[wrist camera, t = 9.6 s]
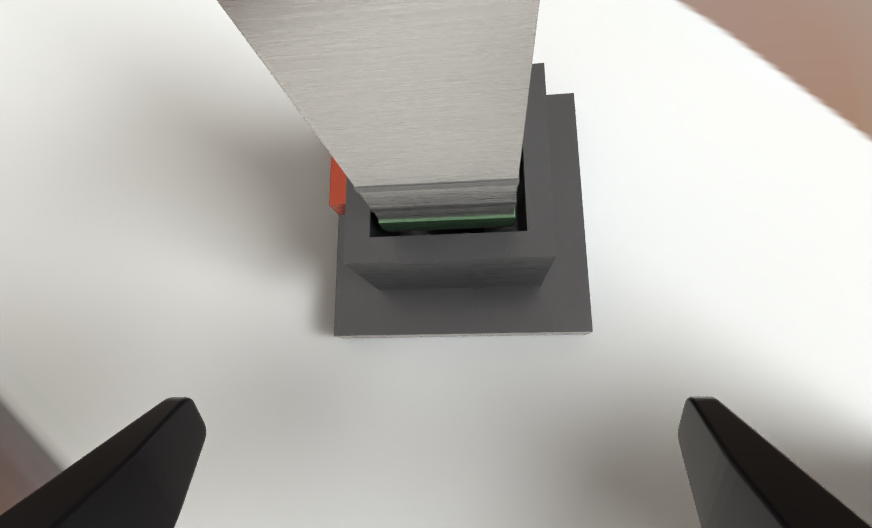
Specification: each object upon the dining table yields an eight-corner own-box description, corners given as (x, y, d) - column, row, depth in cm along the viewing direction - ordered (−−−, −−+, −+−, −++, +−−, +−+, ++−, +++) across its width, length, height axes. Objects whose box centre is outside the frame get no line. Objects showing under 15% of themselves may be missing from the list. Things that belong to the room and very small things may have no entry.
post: (513, 228, 15) (605, -454, 3) (386, 233, 16) (-40, -331, 3) (508, 111, 16) (558, -804, 4) (388, 119, 17) (63, -667, 4)
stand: (586, 334, 19) (626, 316, 14) (343, 338, 20) (283, 323, 15) (569, 108, 22) (597, 9, 16) (350, 122, 23) (301, 36, 17)
